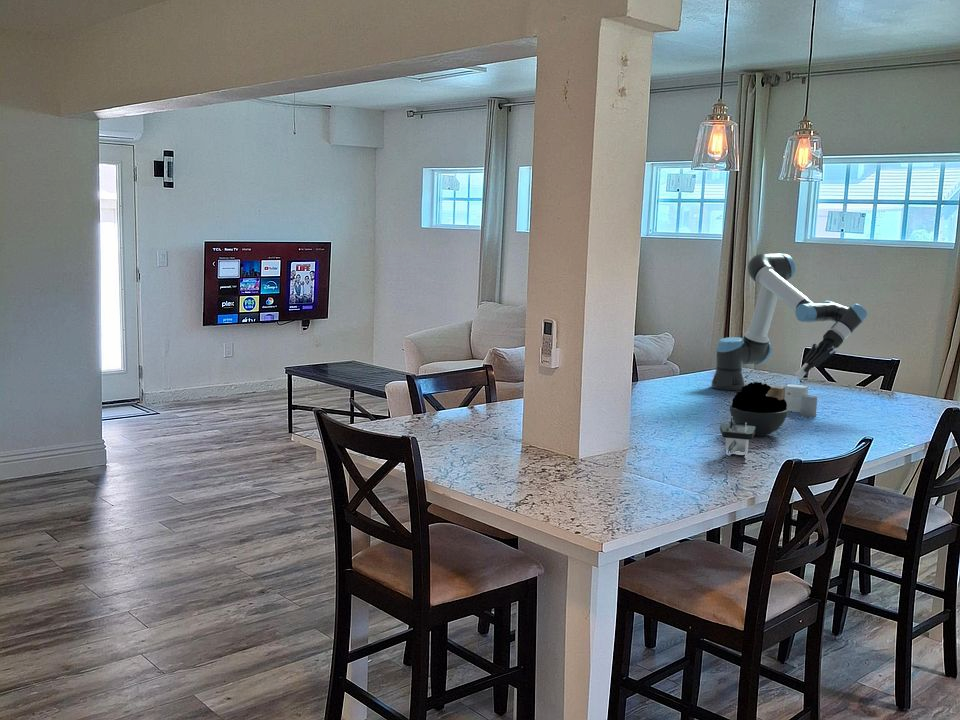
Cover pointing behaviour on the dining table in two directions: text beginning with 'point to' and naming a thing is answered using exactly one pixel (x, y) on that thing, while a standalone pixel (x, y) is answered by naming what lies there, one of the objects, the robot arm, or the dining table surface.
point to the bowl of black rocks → (758, 408)
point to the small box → (794, 396)
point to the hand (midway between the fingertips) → (797, 376)
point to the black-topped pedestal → (737, 436)
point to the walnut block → (777, 392)
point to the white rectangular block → (808, 406)
